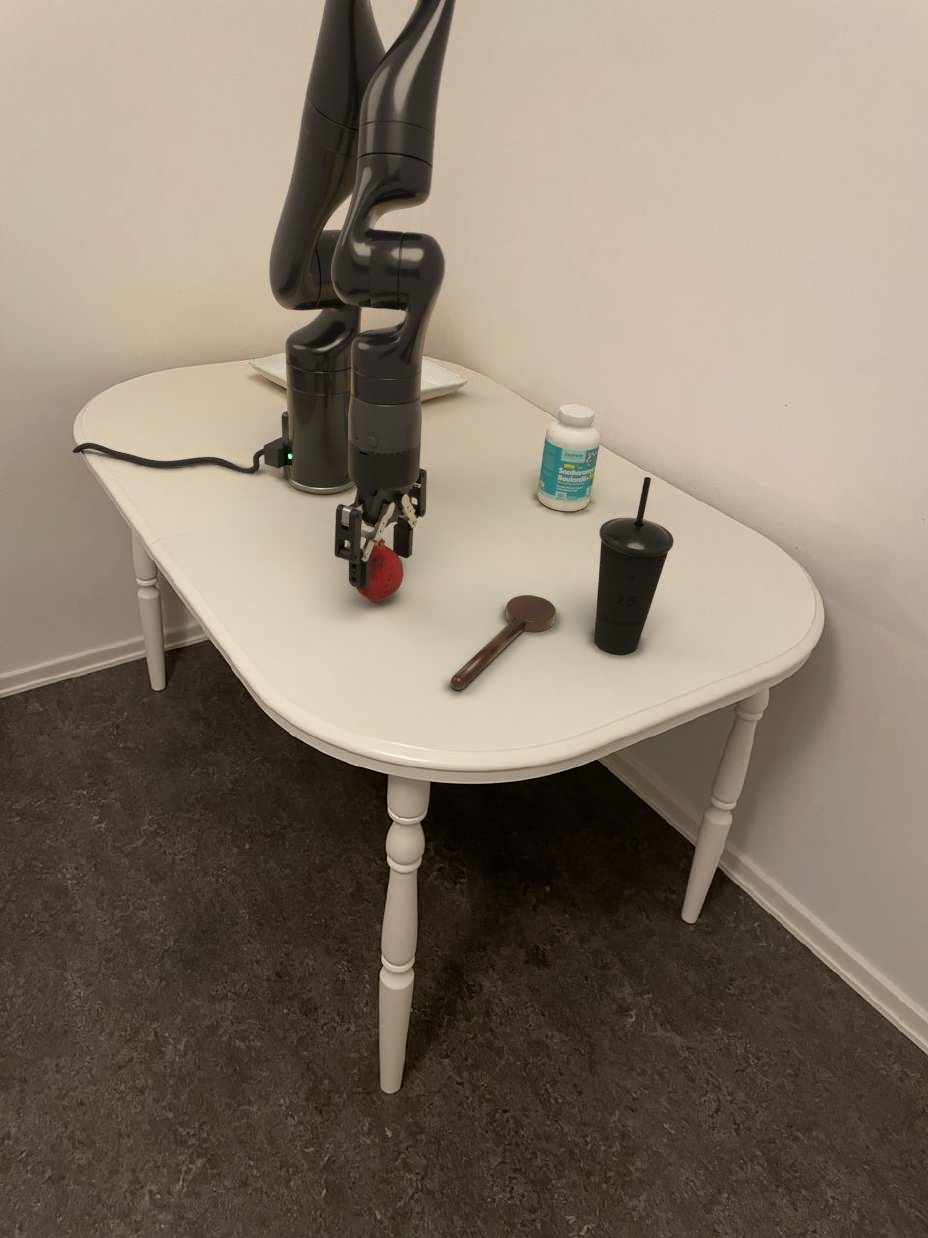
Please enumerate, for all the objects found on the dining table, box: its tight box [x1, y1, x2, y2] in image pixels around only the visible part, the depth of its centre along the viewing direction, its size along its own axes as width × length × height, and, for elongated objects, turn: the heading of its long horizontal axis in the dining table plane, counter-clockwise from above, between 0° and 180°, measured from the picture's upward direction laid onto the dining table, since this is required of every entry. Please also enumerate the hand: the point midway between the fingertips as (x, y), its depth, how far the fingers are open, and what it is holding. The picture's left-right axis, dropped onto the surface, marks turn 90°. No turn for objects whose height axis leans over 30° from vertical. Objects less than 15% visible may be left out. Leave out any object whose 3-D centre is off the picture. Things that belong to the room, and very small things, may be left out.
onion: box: [355, 537, 404, 602], centre depth 108 cm, size 6×6×8 cm
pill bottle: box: [536, 403, 601, 512], centre depth 131 cm, size 8×7×14 cm
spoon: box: [450, 594, 557, 691], centre depth 104 cm, size 6×20×2 cm, turn 149°
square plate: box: [248, 352, 469, 403], centre depth 164 cm, size 27×27×4 cm
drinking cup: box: [593, 476, 675, 656], centre depth 101 cm, size 8×8×20 cm
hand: (381, 570), depth 108 cm, fingers open, 8 cm apart
